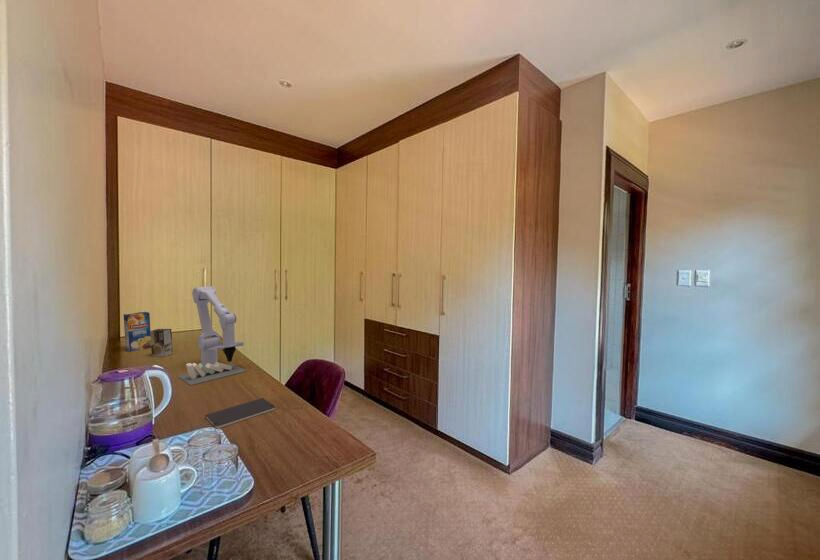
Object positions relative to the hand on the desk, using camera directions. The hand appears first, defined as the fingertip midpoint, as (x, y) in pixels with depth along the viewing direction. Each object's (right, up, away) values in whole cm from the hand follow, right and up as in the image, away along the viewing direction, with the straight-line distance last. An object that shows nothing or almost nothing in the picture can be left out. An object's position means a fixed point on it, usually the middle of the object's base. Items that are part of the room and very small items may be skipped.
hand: (229, 361), depth 180 cm
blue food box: (-85, -3, +45) cm, 97 cm away
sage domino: (-6, -4, -6) cm, 9 cm away
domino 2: (-9, -4, -10) cm, 14 cm away
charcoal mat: (-5, -5, -6) cm, 10 cm away
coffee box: (-58, -4, +30) cm, 65 cm away
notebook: (+32, -8, -51) cm, 61 cm away
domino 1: (-11, -5, -13) cm, 18 cm away
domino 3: (-3, -4, -3) cm, 6 cm away
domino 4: (0, -3, 0) cm, 3 cm away
